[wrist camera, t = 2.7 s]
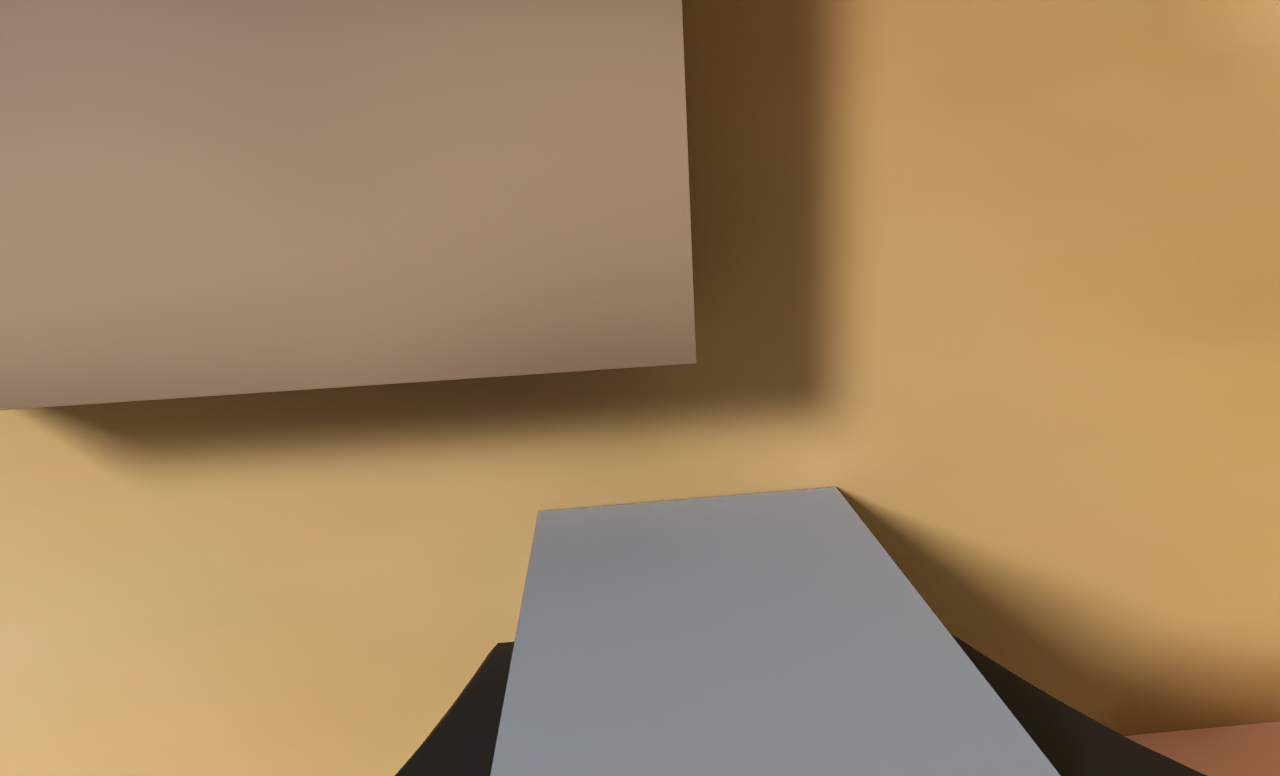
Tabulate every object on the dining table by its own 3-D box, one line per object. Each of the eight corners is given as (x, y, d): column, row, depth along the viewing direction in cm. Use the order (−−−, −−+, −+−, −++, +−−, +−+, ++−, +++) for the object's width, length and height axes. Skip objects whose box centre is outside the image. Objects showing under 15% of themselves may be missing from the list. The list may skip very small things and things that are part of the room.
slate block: (836, 738, 13) (1027, 1187, 7) (565, 763, 13) (538, 1242, 7) (836, 486, 12) (1064, 780, 6) (538, 511, 12) (480, 836, 6)
